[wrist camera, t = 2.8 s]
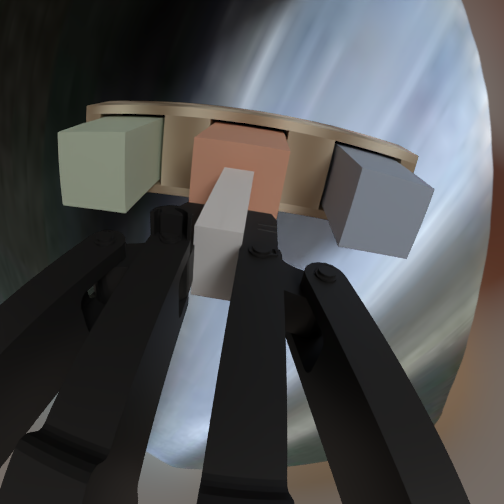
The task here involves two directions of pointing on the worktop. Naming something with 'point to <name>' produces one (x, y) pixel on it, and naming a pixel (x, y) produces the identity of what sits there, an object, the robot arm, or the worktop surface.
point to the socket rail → (296, 130)
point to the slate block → (373, 202)
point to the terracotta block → (241, 162)
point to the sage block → (110, 161)
